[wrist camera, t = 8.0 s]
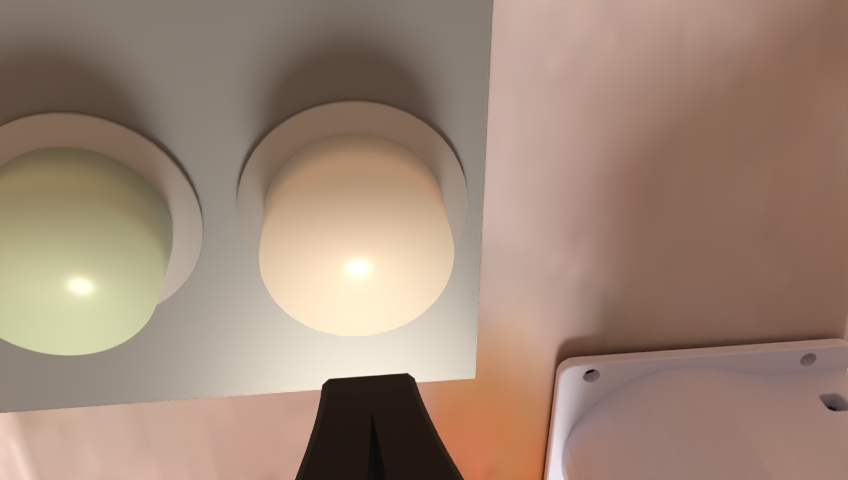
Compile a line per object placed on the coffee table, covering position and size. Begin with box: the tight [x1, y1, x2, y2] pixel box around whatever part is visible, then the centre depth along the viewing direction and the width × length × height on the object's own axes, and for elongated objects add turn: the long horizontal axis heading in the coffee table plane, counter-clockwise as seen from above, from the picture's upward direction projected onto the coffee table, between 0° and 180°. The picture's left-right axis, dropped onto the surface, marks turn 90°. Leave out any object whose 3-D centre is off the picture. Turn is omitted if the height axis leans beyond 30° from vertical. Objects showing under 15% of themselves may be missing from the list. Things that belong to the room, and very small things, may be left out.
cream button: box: [259, 134, 454, 336], centre depth 17 cm, size 4×4×2 cm
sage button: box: [0, 147, 173, 355], centre depth 17 cm, size 4×4×2 cm
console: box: [0, 0, 493, 413], centre depth 19 cm, size 18×11×3 cm, turn 90°
